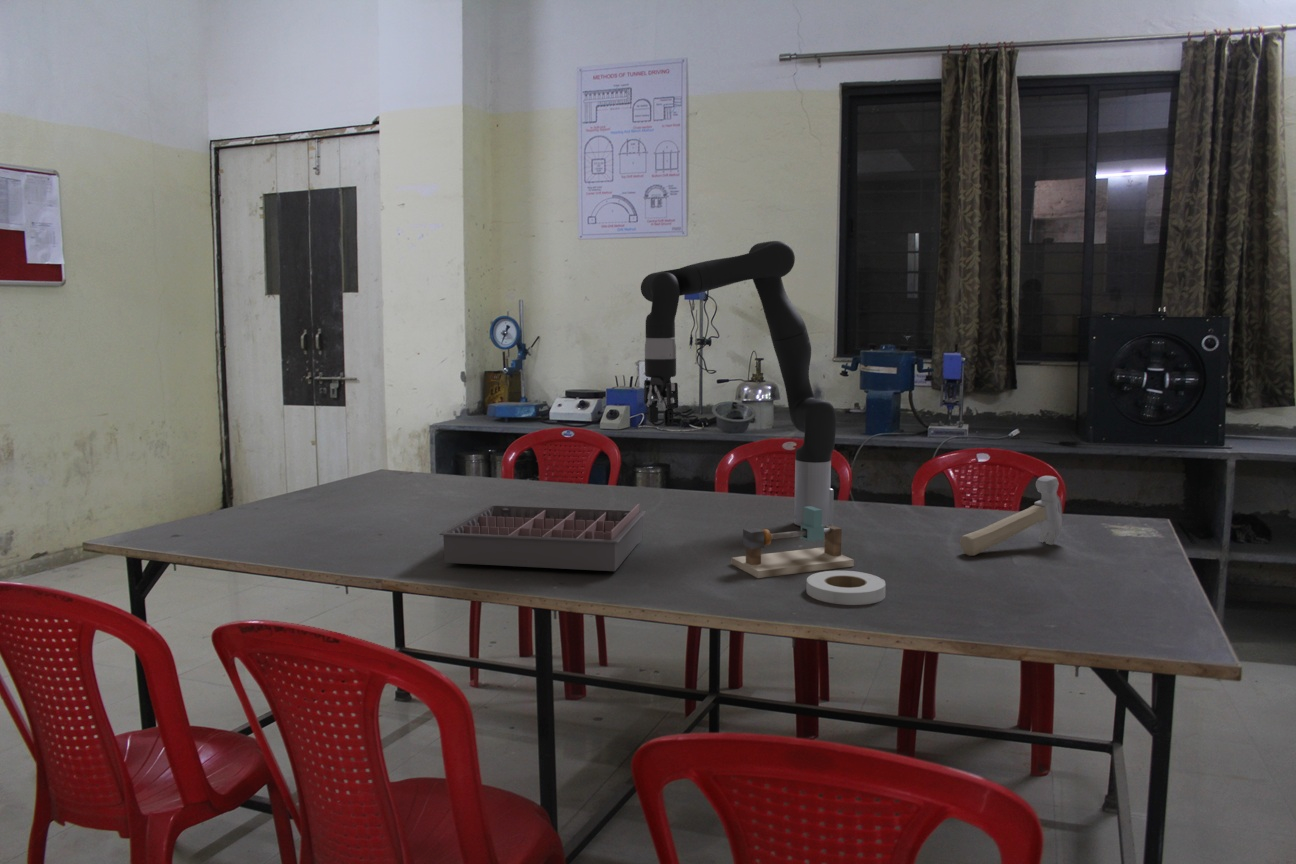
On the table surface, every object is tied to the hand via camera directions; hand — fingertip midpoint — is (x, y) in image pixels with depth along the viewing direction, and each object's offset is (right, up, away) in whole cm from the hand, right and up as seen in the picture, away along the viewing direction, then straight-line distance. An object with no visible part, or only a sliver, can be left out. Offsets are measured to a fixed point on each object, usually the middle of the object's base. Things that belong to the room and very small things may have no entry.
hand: (660, 424), depth 226 cm
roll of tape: (+36, -35, -39) cm, 64 cm away
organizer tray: (-26, -31, -9) cm, 41 cm away
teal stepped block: (+33, -26, -18) cm, 46 cm away
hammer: (+83, -30, -4) cm, 88 cm away
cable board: (+29, -31, -19) cm, 47 cm away
